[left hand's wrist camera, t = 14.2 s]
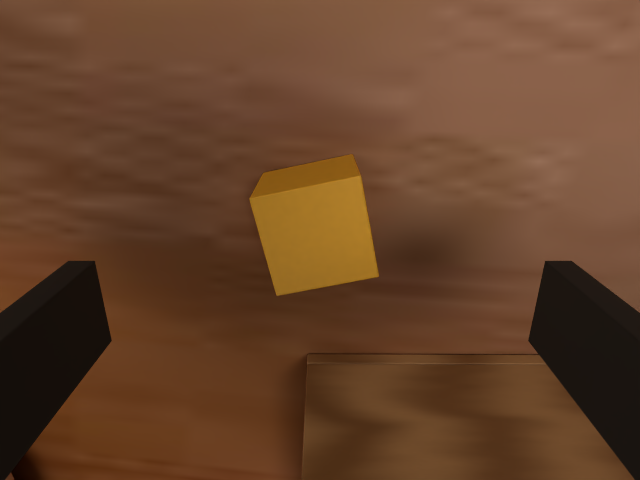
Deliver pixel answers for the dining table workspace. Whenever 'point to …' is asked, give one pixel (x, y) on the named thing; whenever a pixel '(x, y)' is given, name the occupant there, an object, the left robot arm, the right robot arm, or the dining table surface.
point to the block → (314, 225)
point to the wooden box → (446, 421)
